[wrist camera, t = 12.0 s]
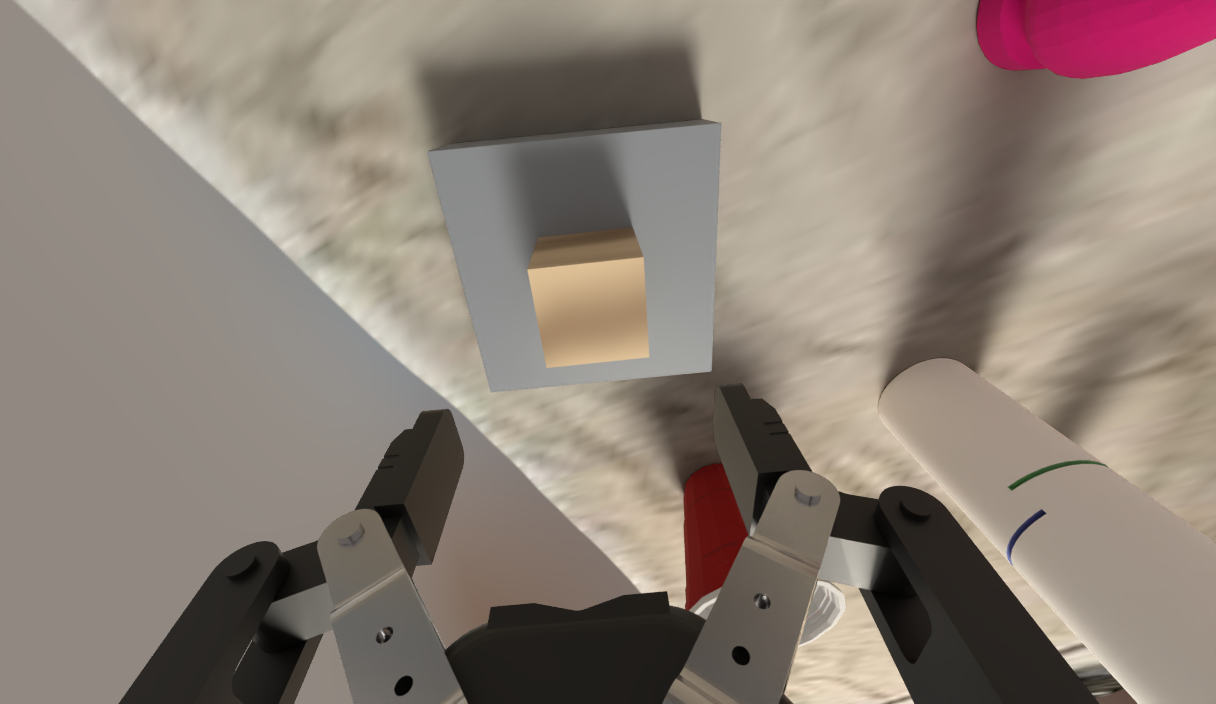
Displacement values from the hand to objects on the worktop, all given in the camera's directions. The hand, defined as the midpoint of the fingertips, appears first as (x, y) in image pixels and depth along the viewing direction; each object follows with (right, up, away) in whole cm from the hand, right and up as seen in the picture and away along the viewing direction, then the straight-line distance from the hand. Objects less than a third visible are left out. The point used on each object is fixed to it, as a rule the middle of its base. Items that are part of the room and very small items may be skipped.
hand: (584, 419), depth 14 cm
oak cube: (0, +6, +11) cm, 13 cm away
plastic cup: (+10, -10, +26) cm, 29 cm away
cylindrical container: (+26, -1, +22) cm, 33 cm away
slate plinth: (-1, +8, +14) cm, 17 cm away
